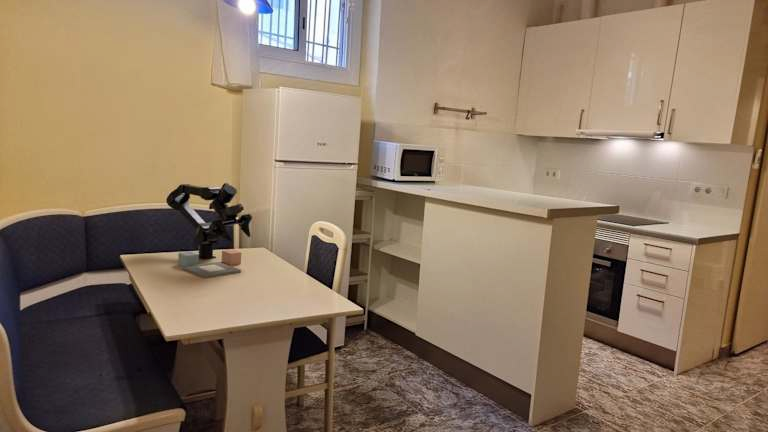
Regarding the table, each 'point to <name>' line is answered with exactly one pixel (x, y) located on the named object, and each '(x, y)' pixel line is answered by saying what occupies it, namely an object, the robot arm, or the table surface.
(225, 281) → the table surface
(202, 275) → the baseplate
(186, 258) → the brick
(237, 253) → the brick
